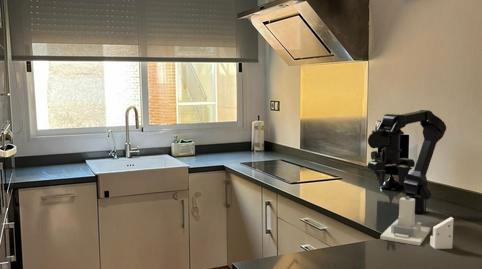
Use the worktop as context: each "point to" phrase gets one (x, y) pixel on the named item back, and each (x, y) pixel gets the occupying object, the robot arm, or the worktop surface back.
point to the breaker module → (406, 212)
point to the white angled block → (442, 235)
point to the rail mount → (406, 233)
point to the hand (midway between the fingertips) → (390, 185)
